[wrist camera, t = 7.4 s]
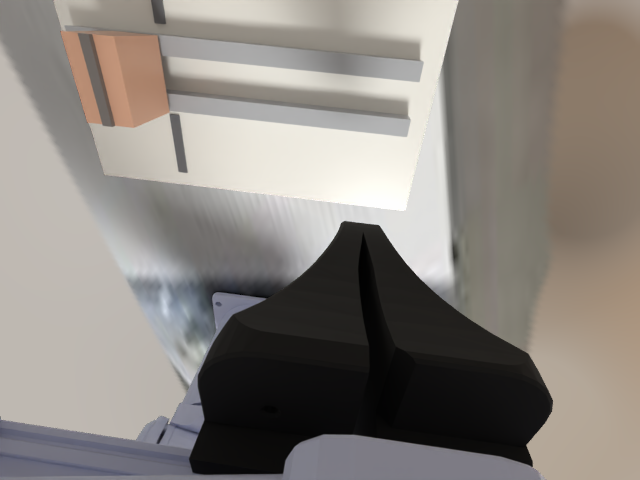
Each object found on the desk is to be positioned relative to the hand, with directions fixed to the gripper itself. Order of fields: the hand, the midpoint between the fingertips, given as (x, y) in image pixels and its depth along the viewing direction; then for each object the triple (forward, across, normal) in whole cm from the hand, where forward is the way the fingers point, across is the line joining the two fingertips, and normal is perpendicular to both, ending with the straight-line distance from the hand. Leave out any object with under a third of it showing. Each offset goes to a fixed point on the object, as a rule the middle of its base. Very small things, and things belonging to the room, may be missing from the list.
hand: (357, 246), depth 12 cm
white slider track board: (+9, +6, -4) cm, 12 cm away
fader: (+7, +11, -4) cm, 13 cm away
